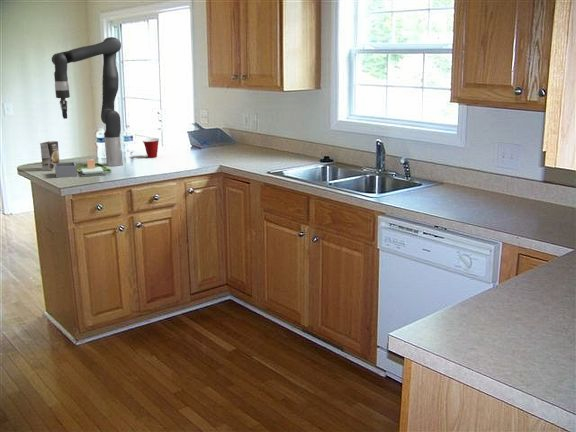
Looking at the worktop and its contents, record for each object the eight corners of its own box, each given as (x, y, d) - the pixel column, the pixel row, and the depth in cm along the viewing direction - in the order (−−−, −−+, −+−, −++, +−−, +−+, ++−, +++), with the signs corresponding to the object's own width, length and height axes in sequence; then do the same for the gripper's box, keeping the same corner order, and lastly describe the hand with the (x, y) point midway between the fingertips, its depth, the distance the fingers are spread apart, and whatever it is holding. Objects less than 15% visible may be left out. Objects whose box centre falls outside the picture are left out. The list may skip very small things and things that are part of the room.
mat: (102, 170, 360) (102, 169, 360) (105, 175, 346) (105, 174, 346) (79, 172, 355) (79, 171, 355) (81, 176, 342) (81, 175, 341)
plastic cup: (142, 156, 406) (140, 138, 403) (158, 155, 410) (157, 137, 407) (145, 159, 396) (143, 140, 393) (162, 158, 400) (160, 139, 397)
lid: (101, 169, 359) (100, 158, 357) (103, 173, 347) (102, 161, 345) (81, 171, 355) (80, 159, 353) (83, 175, 343) (81, 163, 341)
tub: (75, 172, 355) (74, 161, 354) (77, 176, 344) (76, 165, 342) (55, 173, 351) (54, 163, 350) (56, 177, 340) (55, 167, 338)
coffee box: (52, 170, 360) (49, 143, 355) (42, 170, 361) (39, 143, 357) (61, 168, 368) (58, 141, 364) (51, 167, 370) (48, 140, 365)
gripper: (69, 89, 348) (72, 118, 352) (68, 88, 360) (71, 116, 365) (55, 90, 345) (58, 119, 349) (54, 88, 358) (57, 117, 362)
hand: (65, 117), depth 357 cm, fingers open, 8 cm apart
